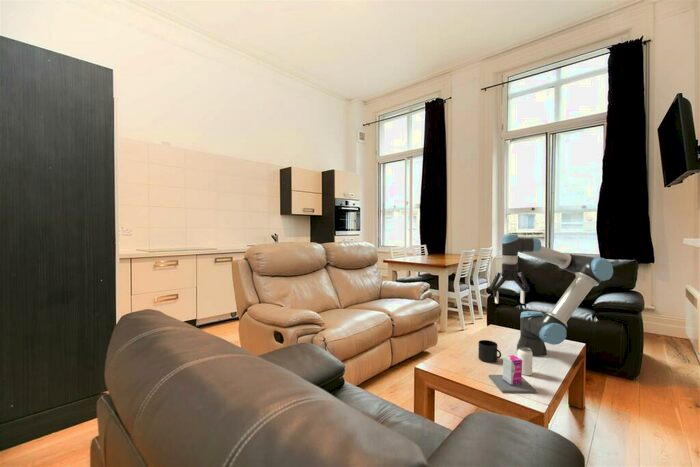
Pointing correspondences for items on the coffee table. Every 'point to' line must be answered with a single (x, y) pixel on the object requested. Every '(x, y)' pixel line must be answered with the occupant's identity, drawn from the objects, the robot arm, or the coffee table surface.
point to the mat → (507, 388)
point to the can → (525, 360)
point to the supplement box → (512, 370)
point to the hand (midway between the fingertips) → (509, 303)
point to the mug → (488, 351)
